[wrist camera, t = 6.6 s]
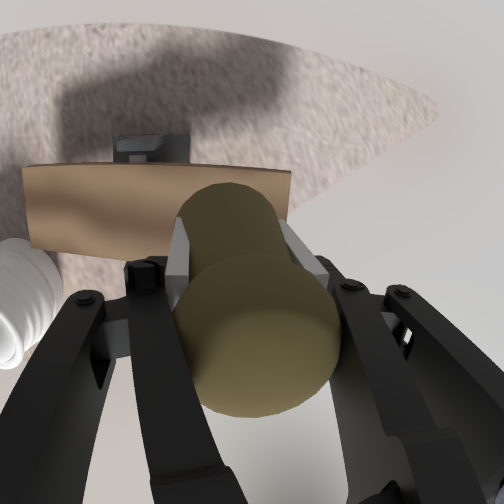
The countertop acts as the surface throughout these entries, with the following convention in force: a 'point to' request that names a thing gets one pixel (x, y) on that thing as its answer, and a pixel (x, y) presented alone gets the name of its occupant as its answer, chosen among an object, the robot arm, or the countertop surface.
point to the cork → (250, 308)
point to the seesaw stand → (152, 148)
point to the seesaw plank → (127, 203)
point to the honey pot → (25, 298)
